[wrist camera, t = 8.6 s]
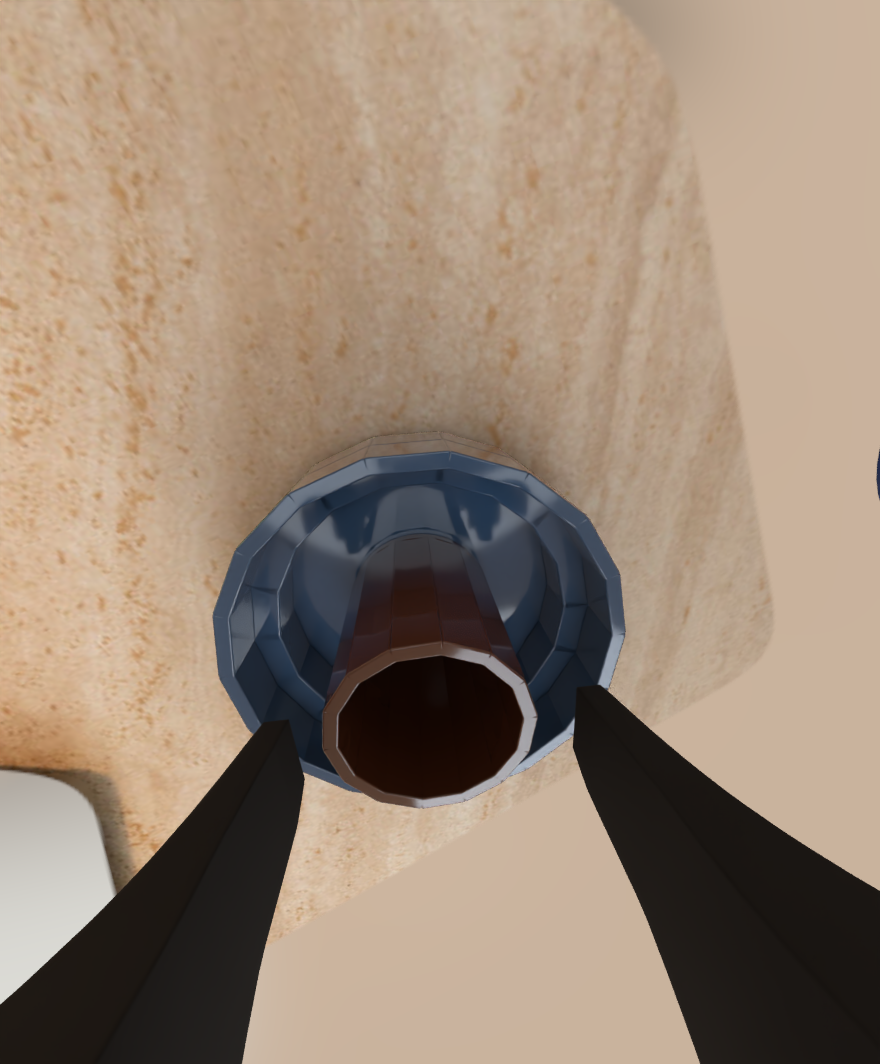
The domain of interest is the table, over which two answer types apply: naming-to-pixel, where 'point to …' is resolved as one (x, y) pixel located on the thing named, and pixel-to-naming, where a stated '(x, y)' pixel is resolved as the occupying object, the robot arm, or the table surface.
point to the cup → (425, 680)
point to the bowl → (399, 510)
